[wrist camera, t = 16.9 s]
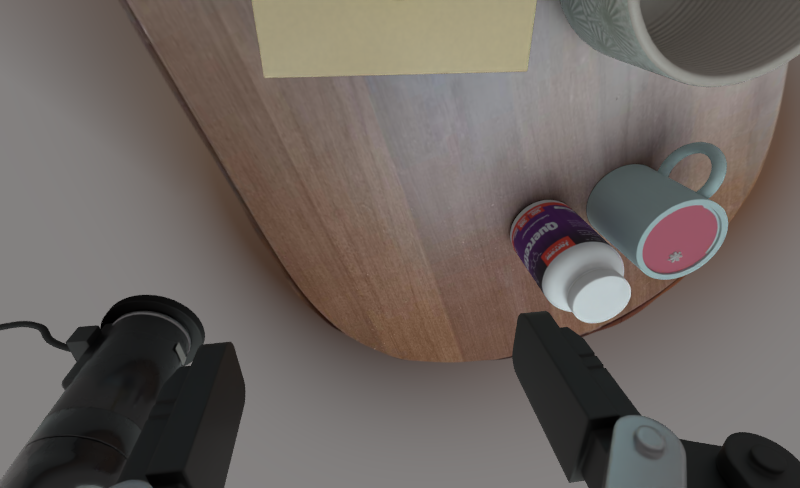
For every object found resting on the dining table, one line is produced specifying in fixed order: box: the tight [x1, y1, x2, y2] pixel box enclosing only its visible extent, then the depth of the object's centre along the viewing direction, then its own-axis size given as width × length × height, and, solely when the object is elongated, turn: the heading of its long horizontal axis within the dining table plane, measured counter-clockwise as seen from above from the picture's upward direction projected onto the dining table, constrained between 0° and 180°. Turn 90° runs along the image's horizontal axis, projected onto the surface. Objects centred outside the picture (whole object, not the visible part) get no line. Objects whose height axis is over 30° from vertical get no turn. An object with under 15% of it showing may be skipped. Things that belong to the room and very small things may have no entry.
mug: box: [587, 142, 728, 280], centre depth 44 cm, size 14×9×10 cm
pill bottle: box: [510, 200, 631, 323], centre depth 44 cm, size 8×8×14 cm
